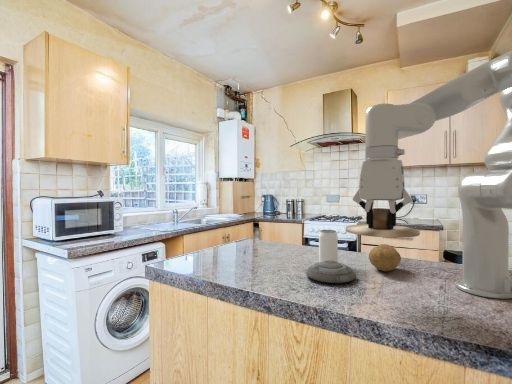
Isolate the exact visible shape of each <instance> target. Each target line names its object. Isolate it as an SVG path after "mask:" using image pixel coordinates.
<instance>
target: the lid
mask: <svg viewBox="0 0 512 384" xmlns="http://www.w3.org/2000/svg"><path fill="white" fill-rule="evenodd" d="M389 211H390V208H380V207H379V208H378V207H376V208H375V207H373V217H372V228H368V224H367V223H364V224H363V223H362V224H351V225H346V226H345V231H346V233H350V234H354V235H357V236H364V237H375V238H390V239H391V238H394V239H395V238H396V239H398V238H399V239H401V238H403V239H405V238H414V237H419V236H420V234H421V232H420V230H419V229H417V228H413V227H410V226H409V227H408V226H401V225H396V226H394V228H393V229H392V230H389V229H388V214H389Z"/></svg>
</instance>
